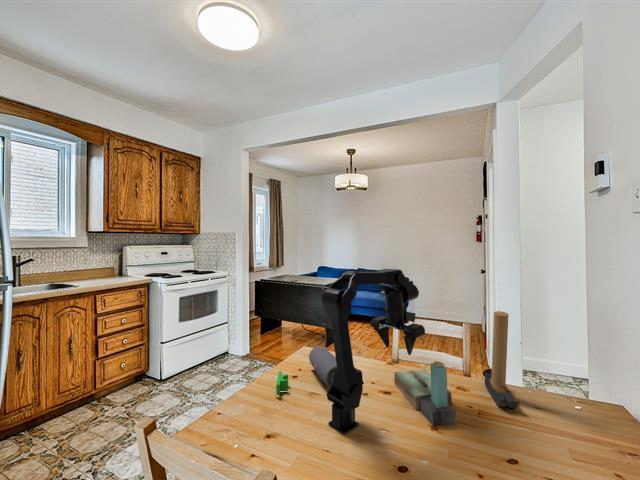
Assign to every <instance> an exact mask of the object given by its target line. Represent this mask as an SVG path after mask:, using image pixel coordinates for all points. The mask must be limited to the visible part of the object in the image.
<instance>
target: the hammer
mask: <svg viewBox="0 0 640 480" xmlns="http://www.w3.org/2000/svg"><path fill="white" fill-rule="evenodd" d="M492 321H493V322H492V323H493V327H492V347H491V350H492V352H491V354H492V355H491V368H486V369H484V370H483V371H482V375H483V377H484V385H485V387H486V389H487V392H488V393H489V395H490V397H491V398H492V400H493V402H494V403H495V405H496V406H497V407H502V408H510V409H517V407H518V406H519V404H520V401H515V399H514V398H513V395H512V394H511V392H510V390H509V389H508V387H507V384H506V382H507V381H506V380H507V359H508V358H507V357H508V355H507V354H508V336H509V335H508V334H509V333H508V330H509V313H508V312H505V311H500V310H499V311H498V310H495V311H494V312H493V319H492Z"/></svg>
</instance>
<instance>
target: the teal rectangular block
mask: <svg viewBox="0 0 640 480" xmlns="http://www.w3.org/2000/svg"><path fill="white" fill-rule="evenodd" d="M447 372H448V368H447V367H446V366H445V365H444V363H443V362H442V361H433V363H430V375H431V402H432V403H433V404H434V405H435V406H436V407H437V408H442V407H448V403H447V390H448V373H447Z"/></svg>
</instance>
